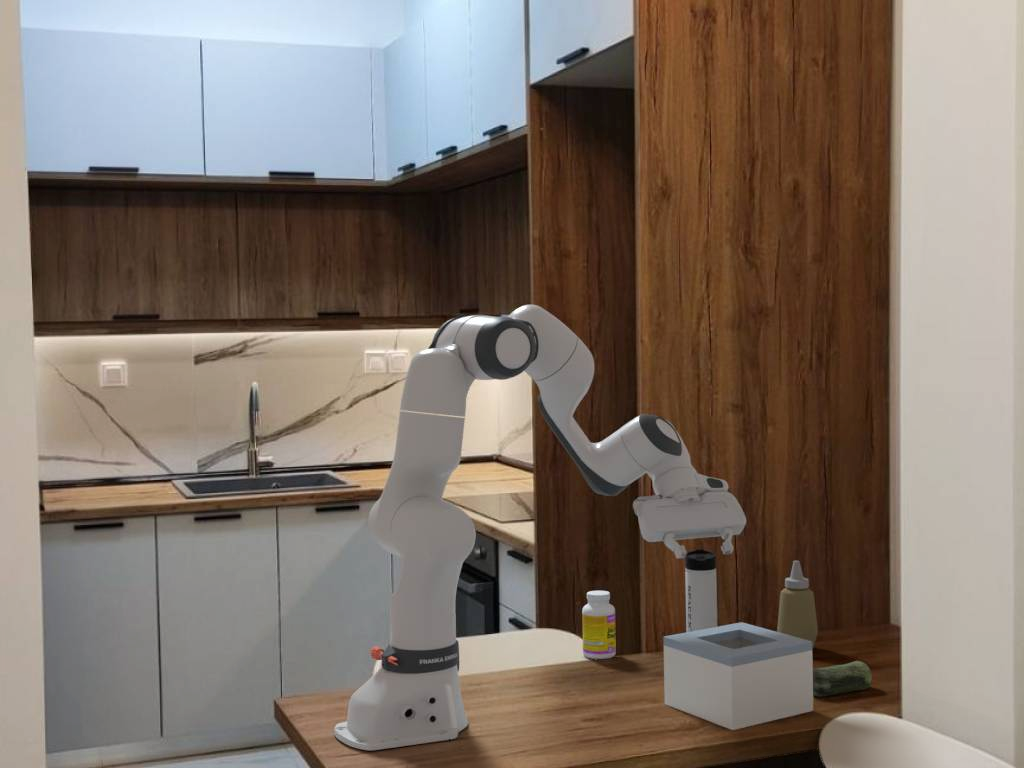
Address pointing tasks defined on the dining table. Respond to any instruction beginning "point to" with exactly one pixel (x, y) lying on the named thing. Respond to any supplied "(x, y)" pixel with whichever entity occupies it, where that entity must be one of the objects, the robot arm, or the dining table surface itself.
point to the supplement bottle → (598, 626)
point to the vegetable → (841, 679)
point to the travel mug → (700, 590)
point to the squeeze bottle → (797, 607)
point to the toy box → (738, 674)
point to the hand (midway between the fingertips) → (705, 554)
